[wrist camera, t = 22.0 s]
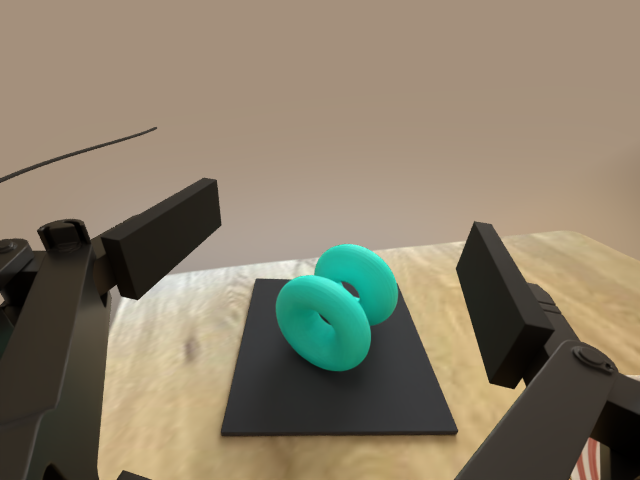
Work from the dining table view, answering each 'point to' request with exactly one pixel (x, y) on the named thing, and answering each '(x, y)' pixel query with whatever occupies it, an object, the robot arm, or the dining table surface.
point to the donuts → (337, 307)
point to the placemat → (333, 381)
